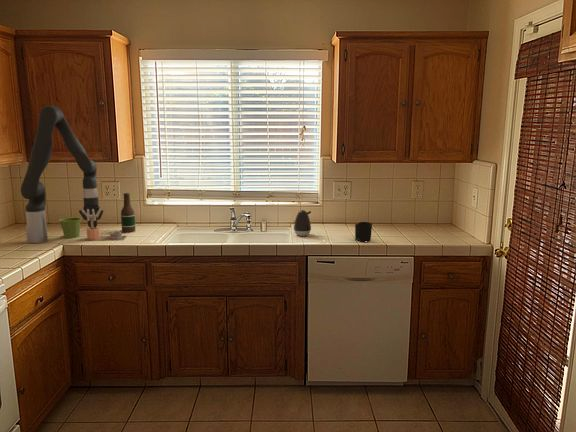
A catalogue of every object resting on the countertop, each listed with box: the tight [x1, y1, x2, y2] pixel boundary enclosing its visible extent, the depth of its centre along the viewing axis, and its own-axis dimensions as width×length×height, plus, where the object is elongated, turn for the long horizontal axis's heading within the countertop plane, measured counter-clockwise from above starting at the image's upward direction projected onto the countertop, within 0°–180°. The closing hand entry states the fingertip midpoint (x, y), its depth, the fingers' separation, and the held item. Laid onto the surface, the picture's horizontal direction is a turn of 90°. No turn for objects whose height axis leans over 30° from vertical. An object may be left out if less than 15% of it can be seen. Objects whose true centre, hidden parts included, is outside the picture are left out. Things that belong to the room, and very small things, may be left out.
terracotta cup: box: [86, 226, 101, 240], centre depth 255 cm, size 6×6×6 cm
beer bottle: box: [120, 192, 136, 234], centre depth 272 cm, size 8×8×24 cm
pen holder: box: [354, 221, 373, 243], centre depth 260 cm, size 9×9×10 cm
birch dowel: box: [90, 215, 95, 229], centre depth 254 cm, size 2×2×10 cm
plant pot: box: [58, 216, 83, 239], centre depth 259 cm, size 12×12×11 cm
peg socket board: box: [83, 231, 128, 242], centre depth 256 cm, size 21×11×4 cm, turn 98°
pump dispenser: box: [293, 209, 312, 237], centre depth 271 cm, size 10×10×15 cm
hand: (92, 227), depth 254 cm, fingers closed on birch dowel, 2 cm apart
